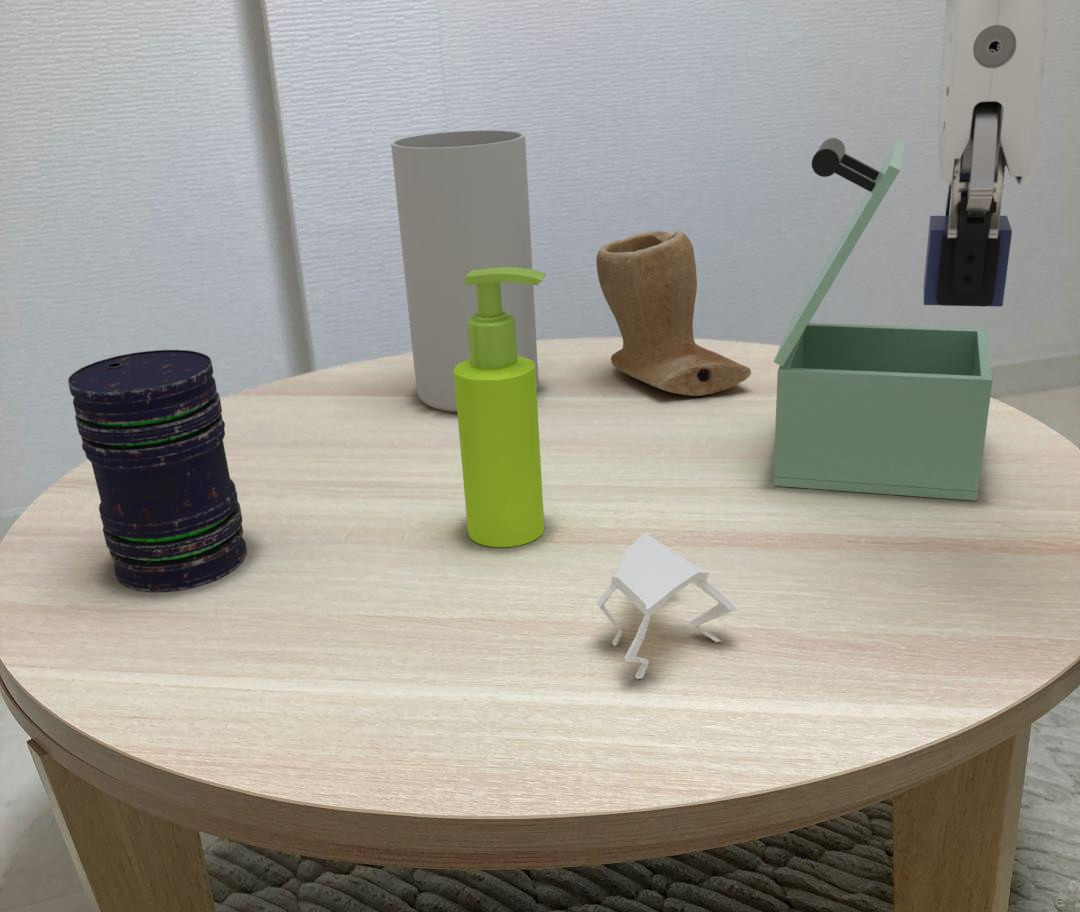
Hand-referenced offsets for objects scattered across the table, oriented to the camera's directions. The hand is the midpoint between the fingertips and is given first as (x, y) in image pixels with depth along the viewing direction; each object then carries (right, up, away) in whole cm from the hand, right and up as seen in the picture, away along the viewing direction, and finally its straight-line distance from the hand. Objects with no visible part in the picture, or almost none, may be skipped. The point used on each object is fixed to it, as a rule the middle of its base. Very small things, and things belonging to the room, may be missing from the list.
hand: (962, 290), depth 70 cm
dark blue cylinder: (-53, -17, +15) cm, 58 cm away
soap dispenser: (-28, -15, +17) cm, 36 cm away
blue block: (0, 0, 0) cm, 0 cm away
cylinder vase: (-33, -1, +47) cm, 57 cm away
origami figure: (-19, -21, +3) cm, 28 cm away
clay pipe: (-13, +1, +47) cm, 49 cm away
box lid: (-2, +7, +19) cm, 20 cm away
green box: (+2, -9, +26) cm, 27 cm away
